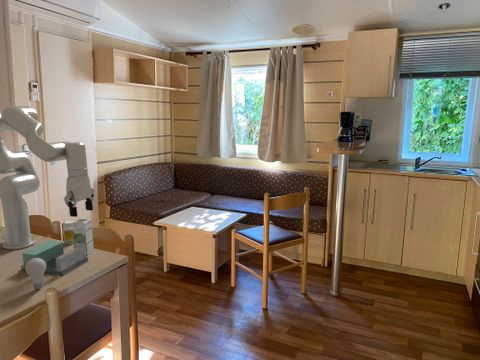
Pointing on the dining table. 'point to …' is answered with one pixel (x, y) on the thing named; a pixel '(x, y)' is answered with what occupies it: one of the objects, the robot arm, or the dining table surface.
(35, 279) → the lightbulb
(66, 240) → the supplement bottle
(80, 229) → the syrup box
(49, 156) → the robot arm
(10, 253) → the dining table surface
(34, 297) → the dining table surface
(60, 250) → the teal green rectangular block
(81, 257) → the base
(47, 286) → the dining table surface
